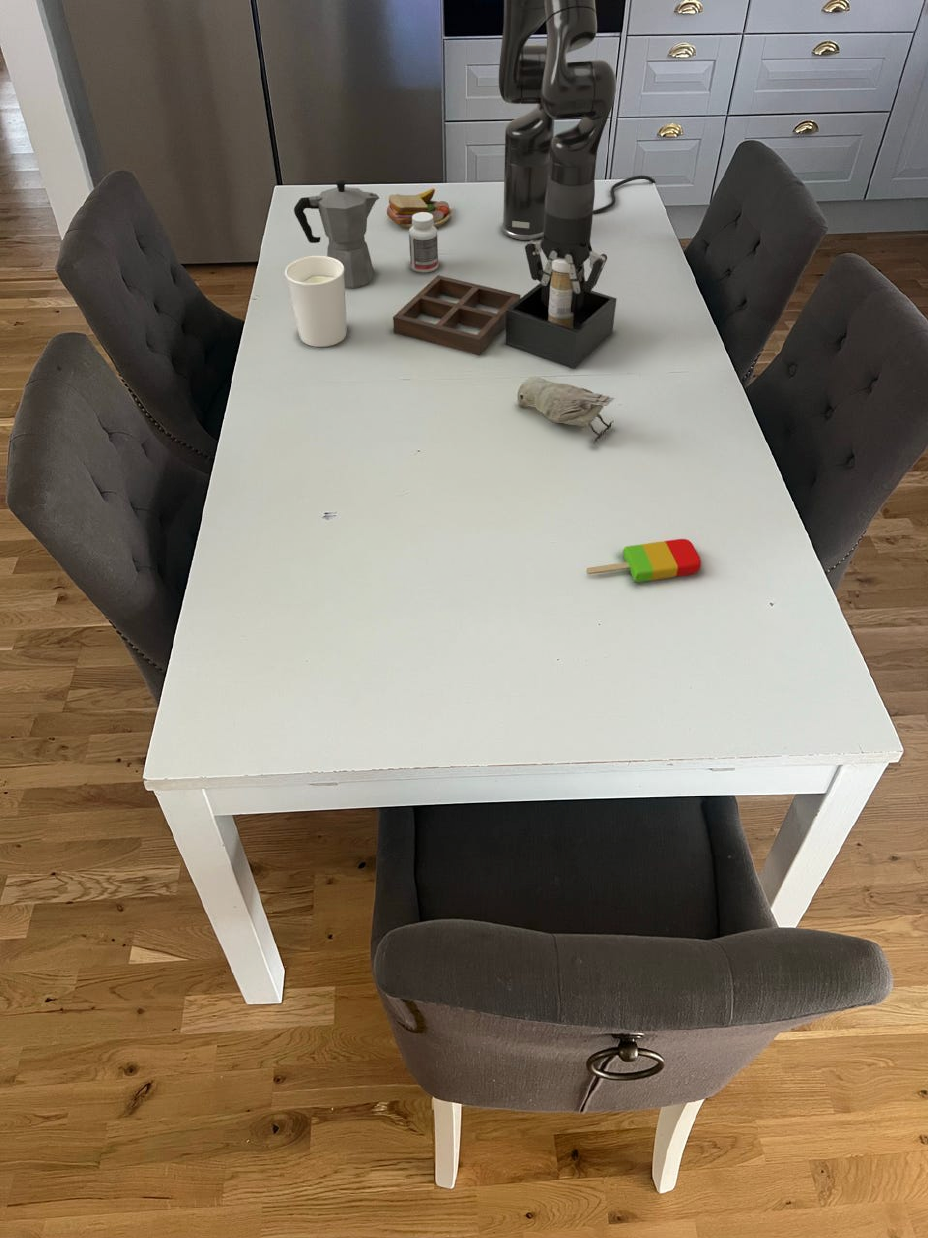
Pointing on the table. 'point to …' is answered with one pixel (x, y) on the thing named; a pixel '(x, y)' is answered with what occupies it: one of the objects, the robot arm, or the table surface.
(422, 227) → the pill bottle
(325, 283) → the candle holder
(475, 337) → the wooden cubby shelf
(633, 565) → the popsicle
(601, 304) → the open box
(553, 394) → the decorative bird
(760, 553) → the table surface
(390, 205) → the toy sandwich meal
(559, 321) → the sprinkles bottle
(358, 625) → the table surface
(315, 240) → the coffeepot
